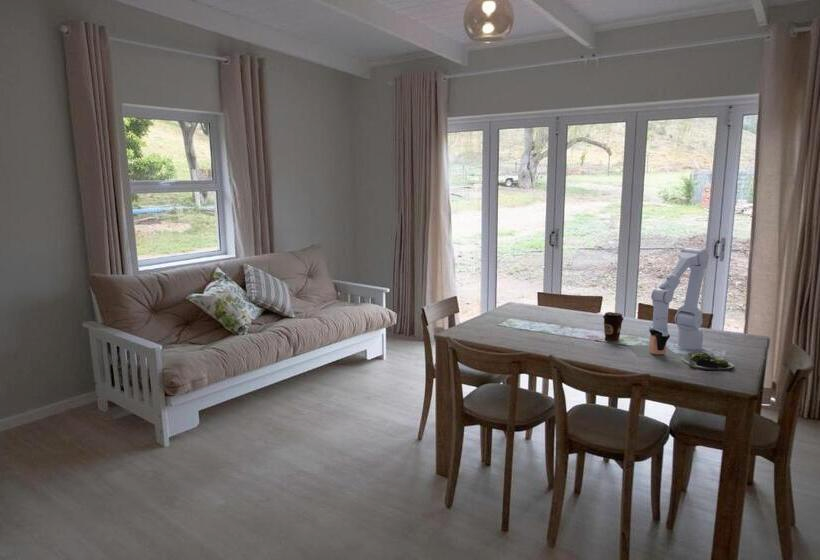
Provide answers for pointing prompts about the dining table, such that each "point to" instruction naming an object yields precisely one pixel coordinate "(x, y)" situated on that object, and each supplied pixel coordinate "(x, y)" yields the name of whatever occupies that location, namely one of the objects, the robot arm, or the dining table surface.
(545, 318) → the dining table surface
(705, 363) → the salad plate
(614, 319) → the coffee cup
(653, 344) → the peach foam cube
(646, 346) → the mat
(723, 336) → the dining table surface
